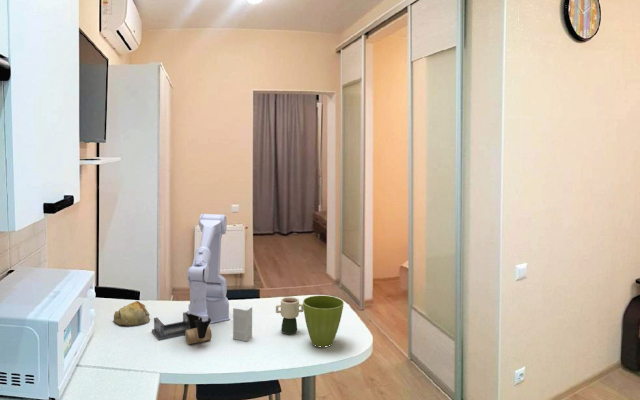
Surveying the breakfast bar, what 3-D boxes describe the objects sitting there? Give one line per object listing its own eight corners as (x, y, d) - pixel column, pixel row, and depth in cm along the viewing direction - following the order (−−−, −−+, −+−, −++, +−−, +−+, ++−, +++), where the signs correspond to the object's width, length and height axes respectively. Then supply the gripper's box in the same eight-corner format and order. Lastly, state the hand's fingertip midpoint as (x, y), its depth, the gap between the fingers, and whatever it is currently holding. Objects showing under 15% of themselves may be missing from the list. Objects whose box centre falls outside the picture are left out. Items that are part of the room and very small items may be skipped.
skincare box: (252, 337, 181) (252, 306, 179) (247, 341, 177) (247, 310, 175) (238, 334, 183) (238, 304, 181) (232, 339, 179) (232, 308, 177)
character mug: (301, 328, 191) (302, 296, 190) (304, 335, 184) (305, 302, 183) (274, 329, 189) (274, 297, 187) (276, 336, 182) (277, 303, 180)
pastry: (157, 319, 195) (157, 300, 194) (133, 330, 184) (133, 310, 183) (131, 313, 201) (131, 295, 200) (107, 323, 190) (106, 303, 189)
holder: (187, 324, 190) (187, 311, 190) (195, 332, 183) (195, 318, 182) (151, 332, 182) (151, 318, 182) (158, 340, 175) (158, 326, 174)
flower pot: (297, 337, 182) (298, 296, 180) (334, 333, 186) (336, 294, 184) (307, 354, 168) (308, 310, 166) (347, 350, 172) (349, 307, 170)
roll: (205, 335, 180) (206, 323, 179) (211, 342, 176) (212, 329, 175) (184, 339, 176) (185, 327, 174) (189, 347, 172) (190, 334, 170)
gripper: (180, 294, 177) (180, 329, 179) (194, 305, 166) (194, 343, 167) (198, 291, 182) (198, 326, 183) (213, 302, 170) (213, 339, 171)
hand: (197, 334), depth 175 cm, fingers open, 7 cm apart
